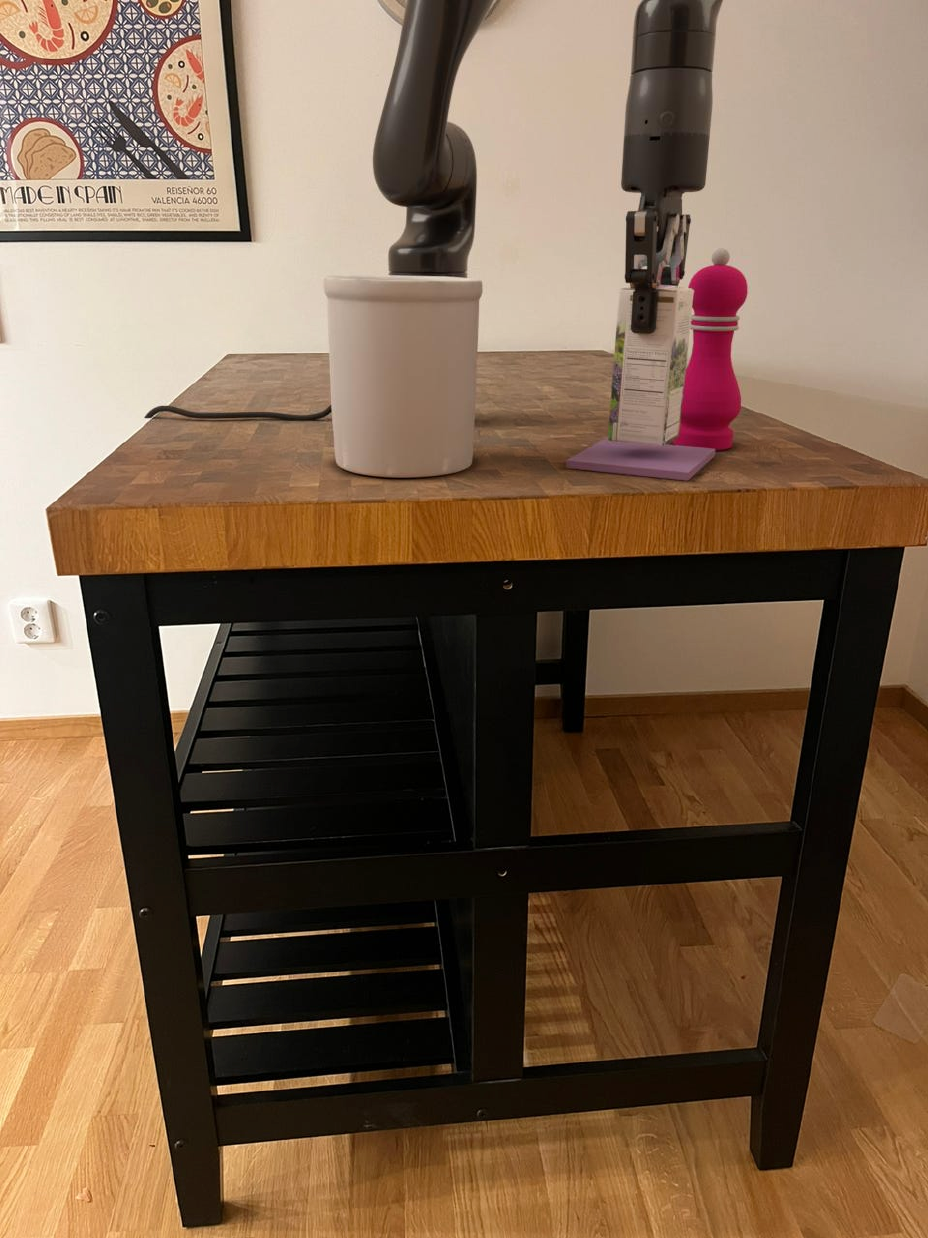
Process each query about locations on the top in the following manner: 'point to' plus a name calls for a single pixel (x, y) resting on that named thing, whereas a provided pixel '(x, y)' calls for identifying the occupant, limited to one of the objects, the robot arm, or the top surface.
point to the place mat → (642, 459)
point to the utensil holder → (403, 372)
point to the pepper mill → (712, 357)
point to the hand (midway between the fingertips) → (651, 329)
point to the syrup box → (650, 370)
